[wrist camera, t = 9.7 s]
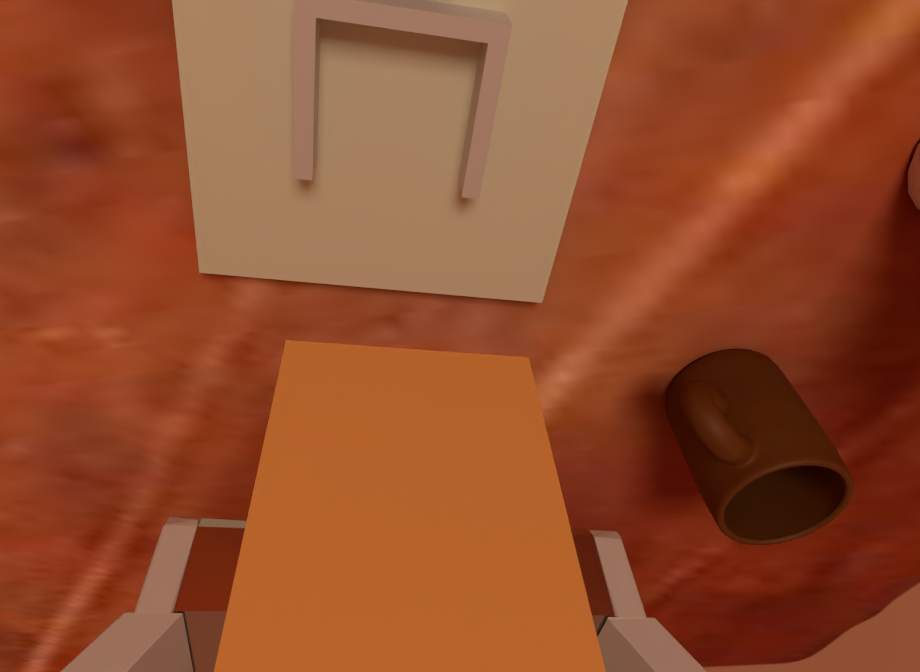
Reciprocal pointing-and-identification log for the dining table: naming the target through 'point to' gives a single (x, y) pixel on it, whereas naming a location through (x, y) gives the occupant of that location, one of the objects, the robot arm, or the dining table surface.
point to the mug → (755, 449)
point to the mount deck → (389, 137)
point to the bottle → (915, 178)
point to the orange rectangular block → (406, 523)
